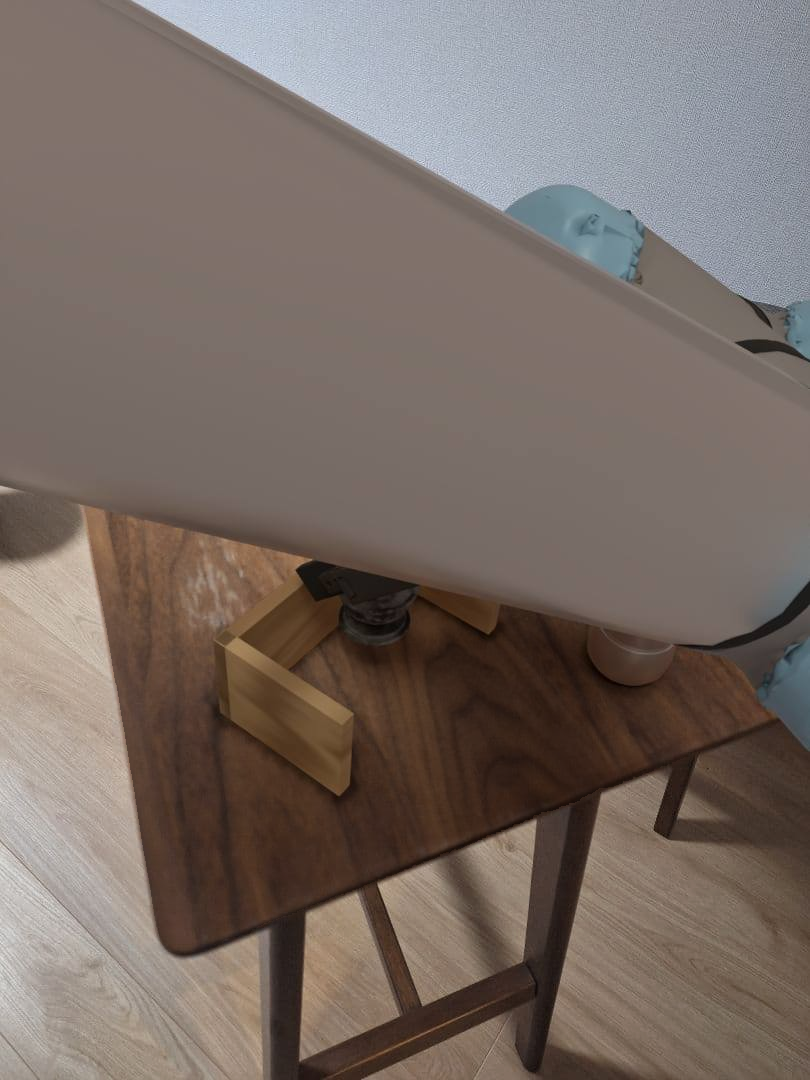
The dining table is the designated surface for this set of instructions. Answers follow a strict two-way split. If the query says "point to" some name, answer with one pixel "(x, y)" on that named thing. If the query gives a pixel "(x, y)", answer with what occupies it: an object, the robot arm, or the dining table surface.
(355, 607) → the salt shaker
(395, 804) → the dining table surface
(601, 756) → the dining table surface
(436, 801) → the dining table surface
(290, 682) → the cubby
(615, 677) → the plastic bottle
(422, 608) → the dining table surface
